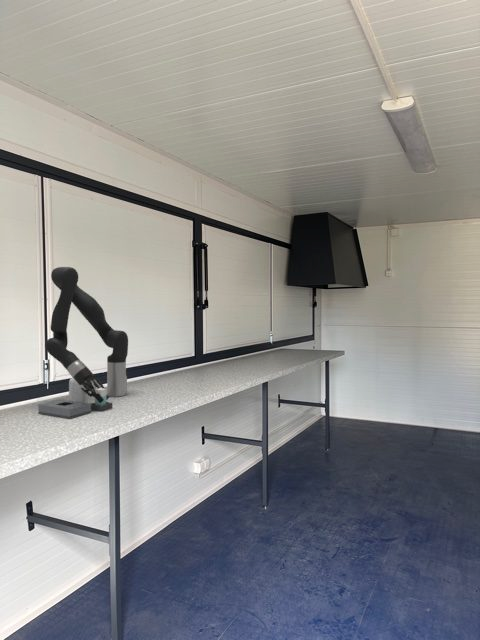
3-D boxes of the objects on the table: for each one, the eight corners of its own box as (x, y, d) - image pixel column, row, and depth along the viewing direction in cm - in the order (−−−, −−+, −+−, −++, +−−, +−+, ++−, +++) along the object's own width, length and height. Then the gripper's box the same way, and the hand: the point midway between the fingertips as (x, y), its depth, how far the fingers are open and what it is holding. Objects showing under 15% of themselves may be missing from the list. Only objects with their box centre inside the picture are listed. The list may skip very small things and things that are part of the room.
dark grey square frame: (100, 406, 209) (100, 401, 208) (112, 408, 206) (112, 402, 205) (88, 409, 202) (88, 404, 202) (101, 411, 199) (101, 405, 199)
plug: (100, 407, 206) (100, 388, 206) (106, 408, 205) (106, 388, 204) (94, 409, 203) (94, 389, 203) (101, 410, 201) (100, 390, 201)
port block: (60, 407, 205) (60, 399, 205) (91, 412, 197) (91, 403, 197) (38, 413, 194) (38, 404, 194) (69, 418, 186) (69, 409, 186)
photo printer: (90, 403, 214) (90, 377, 213) (82, 405, 210) (82, 378, 210) (74, 401, 219) (74, 375, 219) (67, 402, 215) (67, 376, 215)
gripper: (76, 368, 197) (102, 398, 196) (93, 364, 211) (117, 391, 210) (65, 380, 198) (91, 409, 197) (82, 375, 213) (106, 402, 211)
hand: (104, 400), depth 203 cm, fingers closed on plug, 4 cm apart
